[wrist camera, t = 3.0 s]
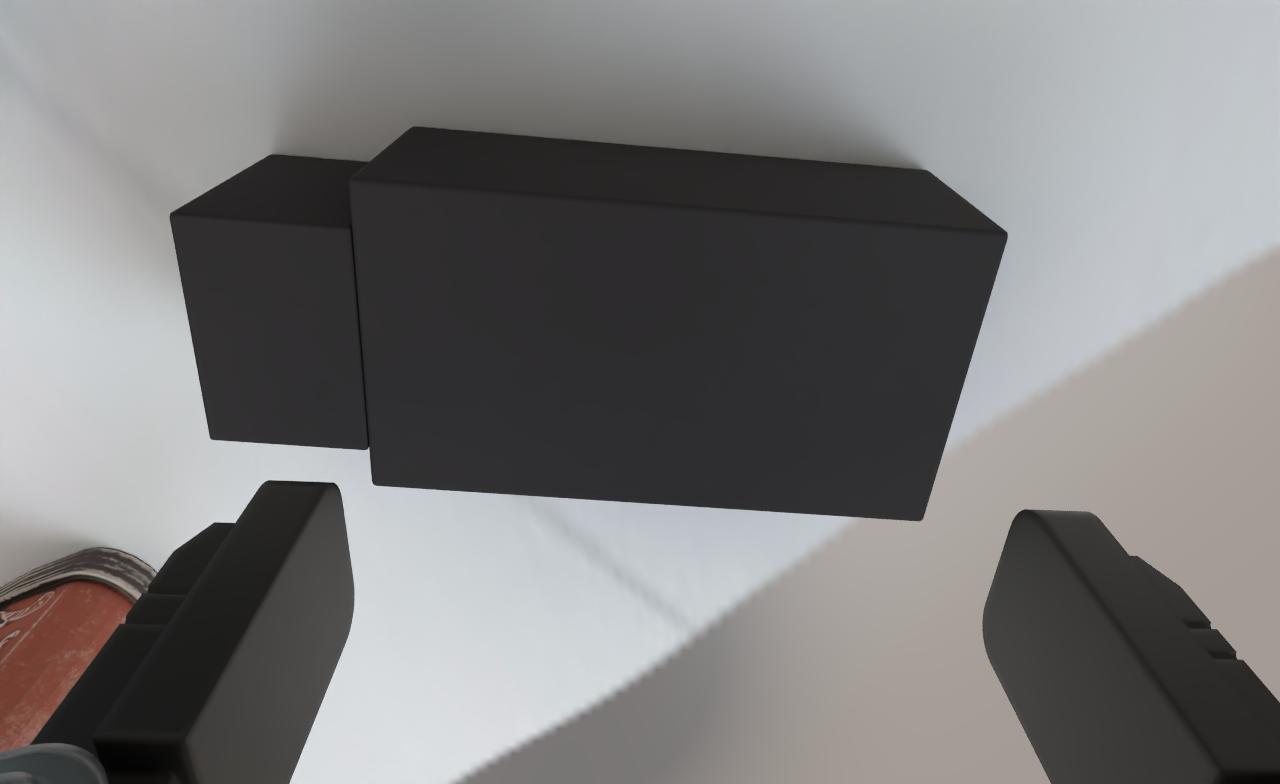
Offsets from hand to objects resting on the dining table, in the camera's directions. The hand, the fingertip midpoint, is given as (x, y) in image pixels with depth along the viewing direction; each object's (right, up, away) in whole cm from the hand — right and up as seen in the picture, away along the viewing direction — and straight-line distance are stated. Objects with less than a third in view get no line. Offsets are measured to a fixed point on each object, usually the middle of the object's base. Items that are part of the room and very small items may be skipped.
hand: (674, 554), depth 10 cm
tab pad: (-1, +4, +7) cm, 9 cm away
